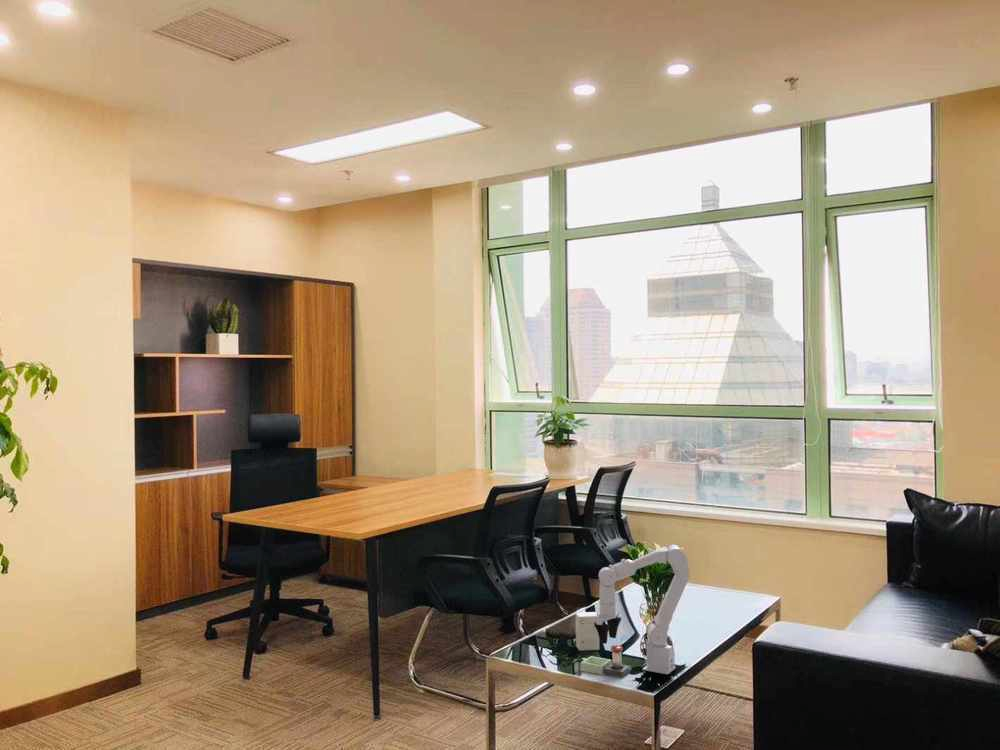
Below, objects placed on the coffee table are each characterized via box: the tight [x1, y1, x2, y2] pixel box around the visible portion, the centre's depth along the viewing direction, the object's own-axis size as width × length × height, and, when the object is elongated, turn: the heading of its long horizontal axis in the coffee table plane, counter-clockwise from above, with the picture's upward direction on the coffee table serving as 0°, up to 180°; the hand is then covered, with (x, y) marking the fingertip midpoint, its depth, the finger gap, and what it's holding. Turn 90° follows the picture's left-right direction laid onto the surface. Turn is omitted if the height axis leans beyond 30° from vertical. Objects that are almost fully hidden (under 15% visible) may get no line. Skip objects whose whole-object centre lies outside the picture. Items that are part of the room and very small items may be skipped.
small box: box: [575, 611, 600, 651], centre depth 316 cm, size 8×6×13 cm
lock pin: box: [610, 645, 623, 670], centre depth 287 cm, size 4×4×9 cm
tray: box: [580, 655, 612, 675], centre depth 291 cm, size 8×8×3 cm
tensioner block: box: [603, 662, 631, 678], centre depth 287 cm, size 7×7×2 cm
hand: (608, 640), depth 292 cm, fingers open, 7 cm apart
